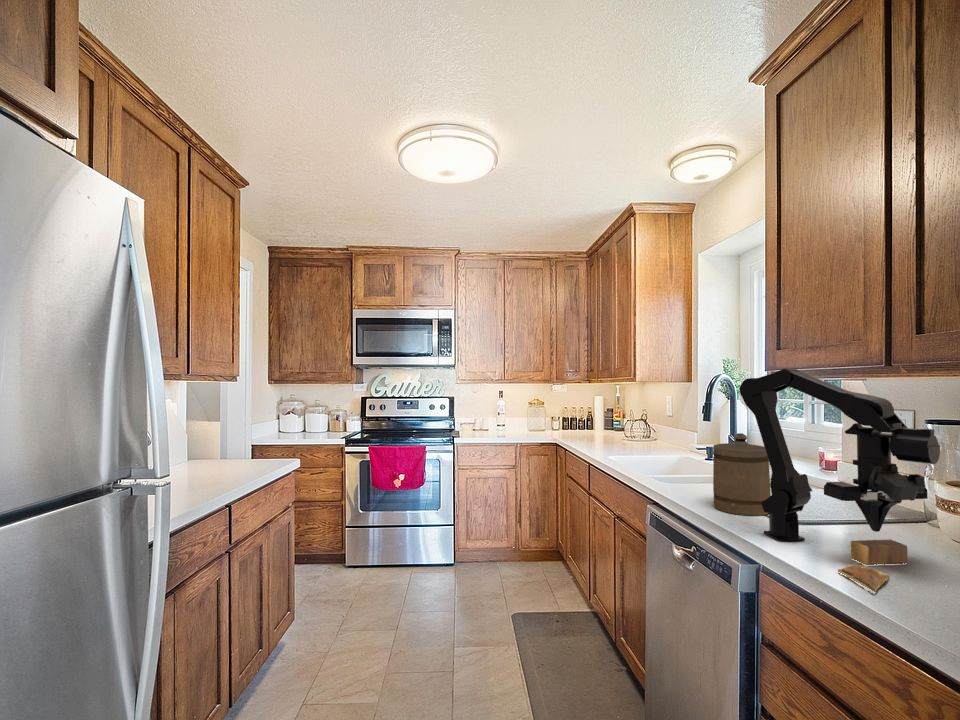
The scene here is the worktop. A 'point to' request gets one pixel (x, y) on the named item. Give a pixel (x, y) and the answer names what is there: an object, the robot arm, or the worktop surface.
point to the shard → (865, 576)
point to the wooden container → (740, 477)
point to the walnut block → (879, 552)
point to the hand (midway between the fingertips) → (875, 531)
